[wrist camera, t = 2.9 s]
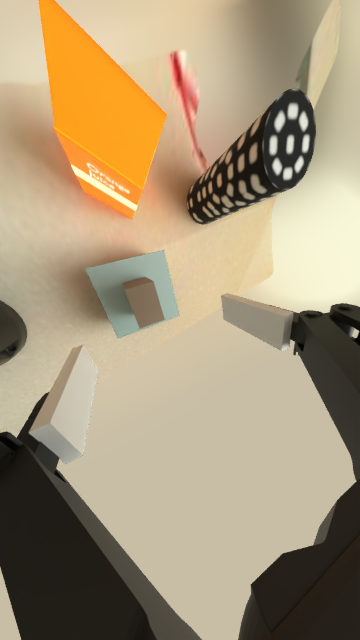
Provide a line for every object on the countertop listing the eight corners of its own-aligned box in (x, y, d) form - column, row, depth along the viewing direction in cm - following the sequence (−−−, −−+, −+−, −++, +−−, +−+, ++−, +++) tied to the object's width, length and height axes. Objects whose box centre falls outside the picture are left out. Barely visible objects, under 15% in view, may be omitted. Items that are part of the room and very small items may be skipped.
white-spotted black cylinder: (219, 221, 37) (309, 186, 20) (190, 227, 35) (261, 194, 18) (216, 178, 34) (321, 90, 16) (183, 182, 32) (263, 86, 14)
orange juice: (132, 220, 31) (152, 166, 13) (83, 191, 27) (18, 60, 9) (145, 178, 29) (186, 57, 12) (95, 142, 25) (45, -127, 8)
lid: (117, 335, 30) (118, 359, 22) (86, 268, 24) (73, 271, 17) (177, 314, 33) (194, 328, 26) (162, 250, 27) (177, 246, 20)
